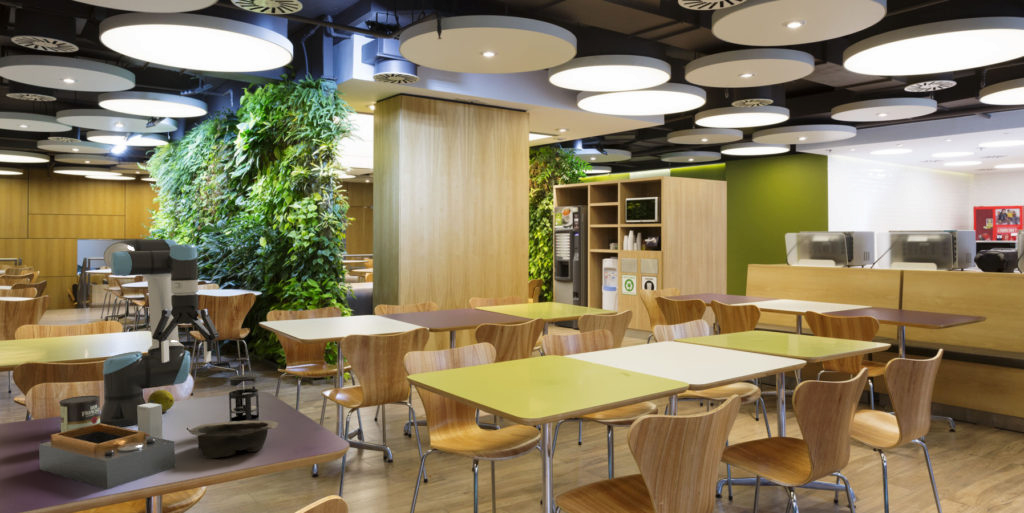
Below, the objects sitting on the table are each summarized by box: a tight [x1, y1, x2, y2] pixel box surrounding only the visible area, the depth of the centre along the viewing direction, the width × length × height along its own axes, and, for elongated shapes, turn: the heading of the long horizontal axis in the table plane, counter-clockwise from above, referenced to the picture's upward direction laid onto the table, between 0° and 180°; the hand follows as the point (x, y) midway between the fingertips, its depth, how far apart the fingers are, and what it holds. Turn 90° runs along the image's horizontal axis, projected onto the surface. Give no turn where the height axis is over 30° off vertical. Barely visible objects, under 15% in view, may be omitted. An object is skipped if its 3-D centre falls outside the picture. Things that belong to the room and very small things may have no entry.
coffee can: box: [59, 395, 101, 433], centre depth 202 cm, size 10×10×14 cm
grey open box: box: [38, 423, 176, 490], centre depth 180 cm, size 32×18×9 cm, turn 61°
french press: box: [227, 357, 260, 422], centre depth 218 cm, size 12×9×23 cm
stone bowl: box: [186, 420, 279, 459], centre depth 195 cm, size 25×25×9 cm
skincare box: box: [137, 402, 164, 439], centre depth 201 cm, size 6×4×12 cm
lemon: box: [147, 389, 175, 413], centre depth 241 cm, size 11×8×8 cm
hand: (186, 361), depth 207 cm, fingers open, 13 cm apart
